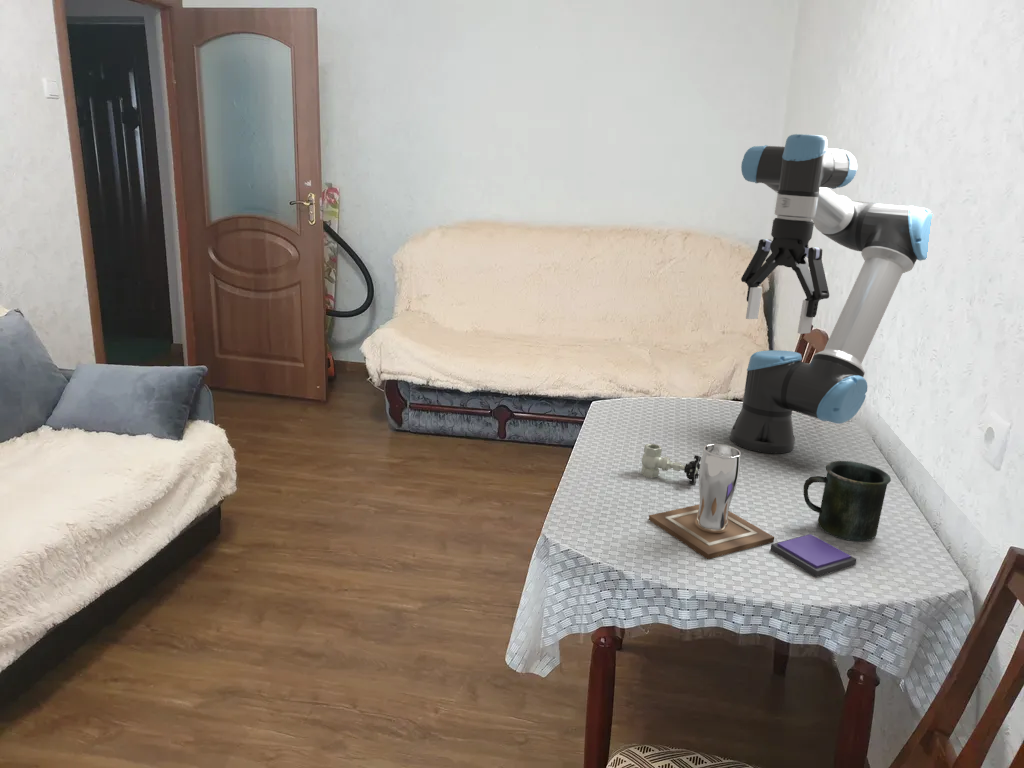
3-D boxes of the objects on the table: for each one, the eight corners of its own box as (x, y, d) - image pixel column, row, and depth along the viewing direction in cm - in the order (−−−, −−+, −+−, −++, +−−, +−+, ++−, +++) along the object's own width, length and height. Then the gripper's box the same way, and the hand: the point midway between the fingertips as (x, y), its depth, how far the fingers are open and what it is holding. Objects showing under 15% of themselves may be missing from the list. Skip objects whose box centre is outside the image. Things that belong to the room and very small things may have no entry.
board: (711, 506, 154) (712, 500, 153) (773, 541, 140) (774, 536, 140) (648, 520, 146) (649, 514, 146) (707, 559, 133) (708, 553, 132)
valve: (636, 477, 165) (691, 490, 161) (639, 449, 164) (696, 461, 159) (644, 467, 171) (698, 479, 166) (647, 439, 169) (702, 451, 165)
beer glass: (698, 534, 139) (709, 457, 135) (687, 517, 146) (697, 442, 142) (736, 535, 140) (748, 458, 136) (722, 517, 146) (734, 443, 142)
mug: (884, 547, 141) (898, 487, 137) (801, 535, 144) (812, 476, 140) (871, 522, 151) (883, 465, 148) (793, 511, 154) (803, 455, 150)
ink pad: (808, 539, 142) (810, 531, 142) (855, 565, 134) (857, 557, 133) (770, 550, 137) (771, 542, 137) (816, 577, 129) (817, 568, 129)
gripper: (733, 211, 158) (719, 313, 164) (834, 224, 137) (814, 340, 143) (759, 212, 162) (744, 312, 168) (862, 225, 141) (841, 338, 147)
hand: (776, 325), depth 156 cm, fingers open, 13 cm apart
